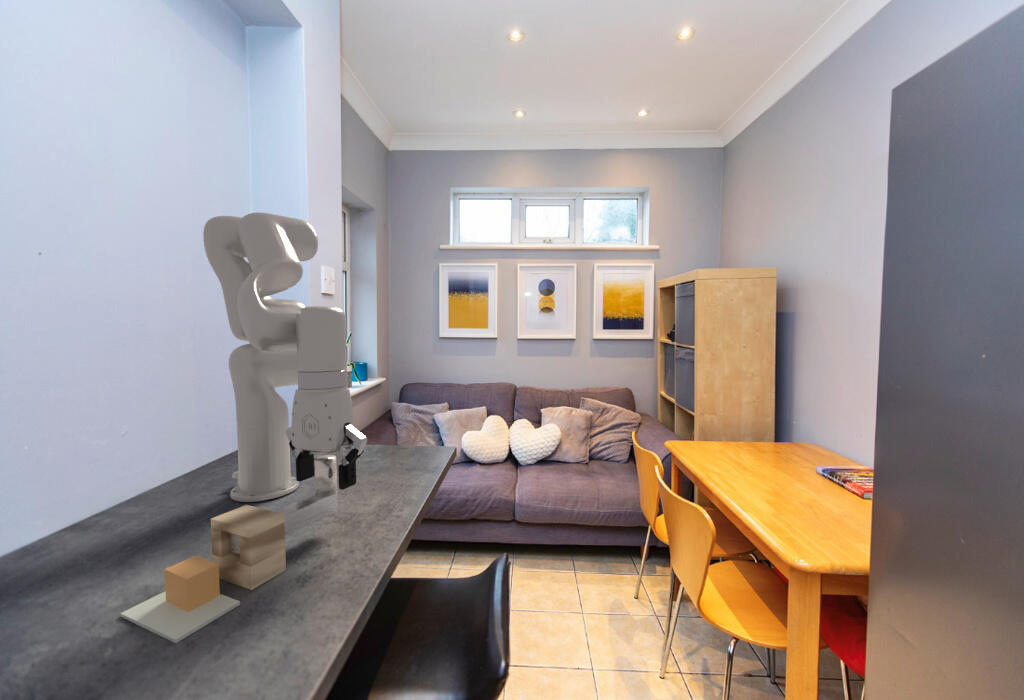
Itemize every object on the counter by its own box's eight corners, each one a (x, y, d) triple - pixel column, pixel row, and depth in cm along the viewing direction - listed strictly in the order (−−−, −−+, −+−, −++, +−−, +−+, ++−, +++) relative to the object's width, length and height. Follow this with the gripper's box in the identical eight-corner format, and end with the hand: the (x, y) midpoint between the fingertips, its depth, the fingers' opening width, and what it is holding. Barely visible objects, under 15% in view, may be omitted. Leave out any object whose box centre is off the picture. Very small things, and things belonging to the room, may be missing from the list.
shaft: (229, 551, 58) (227, 487, 57) (327, 505, 73) (325, 453, 72) (246, 556, 56) (243, 490, 56) (342, 508, 72) (340, 456, 71)
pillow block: (213, 576, 58) (210, 518, 57) (248, 558, 62) (246, 504, 62) (251, 590, 55) (249, 529, 54) (285, 569, 59) (284, 513, 59)
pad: (120, 616, 50) (120, 613, 50) (186, 583, 56) (186, 580, 56) (175, 643, 45) (175, 639, 45) (240, 604, 52) (240, 601, 52)
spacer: (197, 585, 55) (165, 600, 52) (196, 555, 55) (164, 569, 52) (219, 595, 53) (188, 612, 50) (218, 564, 53) (186, 579, 50)
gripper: (266, 381, 70) (270, 483, 70) (345, 386, 63) (348, 498, 64) (305, 377, 77) (307, 469, 77) (379, 380, 70) (382, 482, 70)
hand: (326, 482), depth 70 cm, fingers open, 9 cm apart
